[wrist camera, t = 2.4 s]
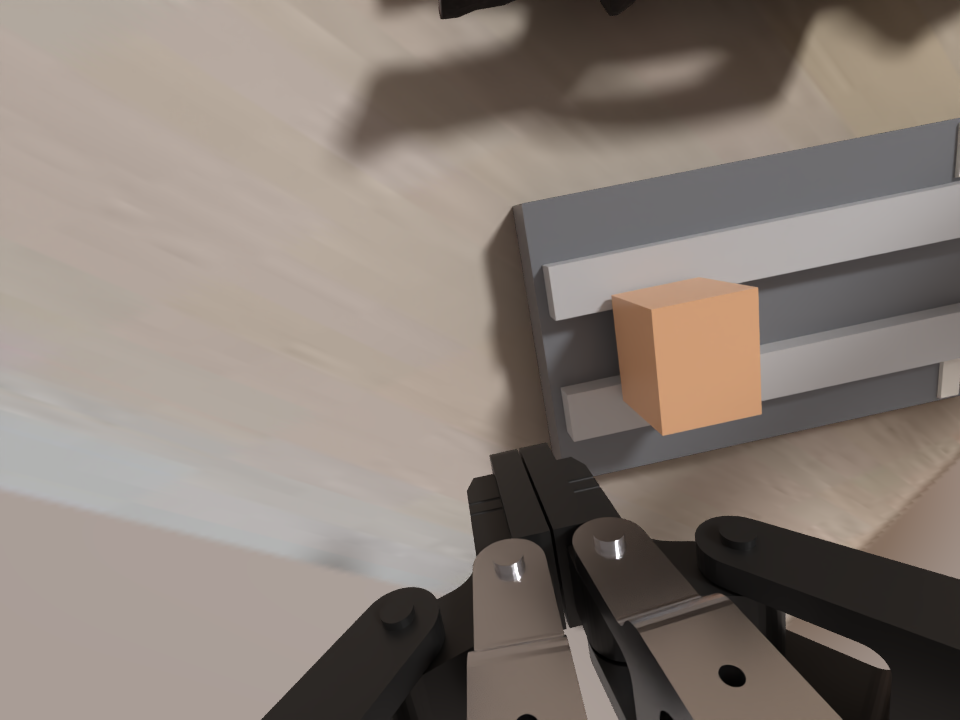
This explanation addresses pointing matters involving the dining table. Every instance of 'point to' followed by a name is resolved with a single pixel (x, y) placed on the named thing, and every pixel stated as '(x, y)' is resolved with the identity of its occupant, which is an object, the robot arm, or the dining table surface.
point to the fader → (689, 353)
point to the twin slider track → (774, 270)
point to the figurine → (458, 3)
